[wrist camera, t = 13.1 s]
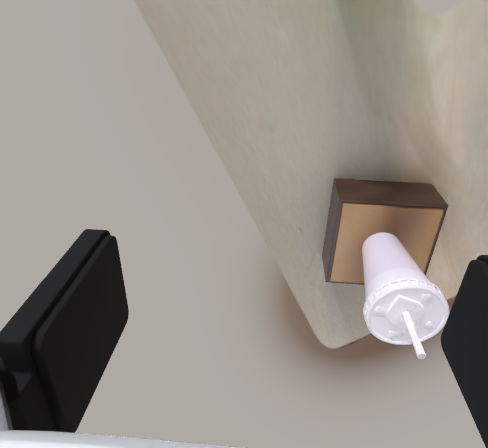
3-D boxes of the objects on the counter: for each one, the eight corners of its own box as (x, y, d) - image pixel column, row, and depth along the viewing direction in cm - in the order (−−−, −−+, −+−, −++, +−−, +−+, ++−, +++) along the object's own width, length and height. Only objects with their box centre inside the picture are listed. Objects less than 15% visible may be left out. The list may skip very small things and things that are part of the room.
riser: (432, 183, 41) (449, 206, 37) (409, 262, 46) (422, 290, 42) (333, 178, 42) (339, 200, 37) (322, 256, 47) (326, 283, 42)
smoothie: (405, 211, 37) (464, 317, 25) (421, 263, 40) (481, 380, 28) (339, 233, 39) (364, 341, 27) (358, 281, 42) (389, 399, 30)
